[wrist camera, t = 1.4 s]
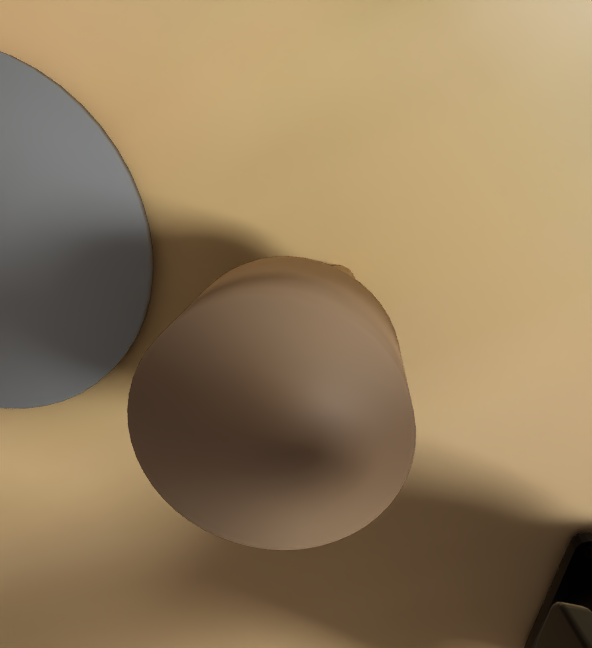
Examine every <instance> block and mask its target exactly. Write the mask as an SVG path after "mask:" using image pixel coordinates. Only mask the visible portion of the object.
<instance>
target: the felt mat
mask: <svg viewBox="0 0 592 648" xmlns="http://www.w3.org/2000/svg"><path fill="white" fill-rule="evenodd" d="M152 280H153V248H152V242H151V235H150V229H149V223H148V220H147V216H146V213H145V209H144V206H143V202H142V199H141V196H140V194H139V191H138V189H137V187H136V184H135V182H134V179H133V177H132V174H131V173H130V171H129V169H128V167H127V165H126V164H125V162H124V160H123V158H122V156H121V154H120V153H119V151H118V149H117V148H116V146H115V145H114V144H113V142H112V141H111V139H110V138H109V136H108V135H107V134H106V132H105V131H104V129H103V128H102V127H101V125H100V124H99V123H98V122H97V121H96V120H95V119H94V118H93V116H92V115H91V114H90V113H89V112H88V111H87V110H86V109H85V107H84V106H83V105H82V104H81V103H79V102H78V101H77V100H76V99H75V98H74V97H73V96H72V95H71V94H69V93H68V92H67V91H66V90H65V89H64V88H63V87H62V86H60V85H59V84H58V83H56V82H55V81H53V80H52V79H50V78H49V77H48V76H46V75H45V74H43V73H42V72H40V71H39V70H38V69H36V68H34V67H32V66H30V65H28V64H26V63H24V62H23V61H21V60H19V59H17V58H15V57H13V56H11V55H8V54H5V53H3V52H0V408H33V407H41V406H46V405H50V404H54V403H58V402H61V401H64V400H66V399H69V398H71V397H73V396H76V395H78V394H80V393H82V392H83V391H85V390H87V389H88V388H90V387H91V386H93V385H95V384H96V383H97V382H98V381H100V380H101V379H102V378H103V377H104V376H105V375H107V374H108V373H109V372H110V371H111V370H112V369H113V368H114V367H115V366H116V365H117V364H118V363H119V362H120V360H121V359H122V358H123V357H124V356H125V354H126V353H127V352H128V350H129V349H130V347H131V345H132V344H133V342H134V341H135V339H136V337H137V336H138V333H139V331H140V329H141V326H142V324H143V321H144V319H145V316H146V313H147V309H148V305H149V301H150V297H151V289H152Z"/></svg>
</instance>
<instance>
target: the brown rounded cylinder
mask: <svg viewBox="0 0 592 648" xmlns="http://www.w3.org/2000/svg"><path fill="white" fill-rule="evenodd" d="M127 412H128V428H129V433H130V438H131V443H132V446H133V449H134V451H135V454H136V457H137V459H138V461H139V463H140V466H141V468H142V470H143V472H144V473H145V475H146V476H147V478H148V479H149V481H150V482H151V484H152V486H153V487H154V488H155V489H156V490H157V492H158V493H159V494H160V495H161V496H162V498H163V499H164V500H165V501H166V502H167V503H168V504H169V505H171V506H172V507H173V508H174V509H175V510H176V511H177V512H178V513H180V514H181V515H182V516H184V517H185V518H186V519H187V520H189V521H190V522H192V523H194V524H195V525H197V526H199V527H200V528H202V529H203V530H205V531H208V532H210V533H212V534H214V535H216V536H218V537H220V538H223V539H226V540H229V541H231V542H234V543H238V544H242V545H246V546H250V547H255V548H262V549H270V550H296V549H306V548H312V547H317V546H322V545H325V544H328V543H332V542H335V541H338V540H340V539H342V538H345V537H347V536H349V535H352V534H353V533H355V532H357V531H358V530H360V529H362V528H364V527H365V526H367V525H368V524H369V523H370V522H372V521H373V520H374V519H376V518H377V517H378V516H379V515H380V514H381V513H382V512H383V511H384V510H385V509H386V508H387V507H388V506H389V505H390V504H391V502H392V501H393V500H394V498H395V497H396V496H397V494H398V493H399V491H400V490H401V488H402V486H403V484H404V482H405V480H406V478H407V476H408V473H409V470H410V467H411V464H412V461H413V456H414V450H415V440H416V426H415V418H414V411H413V406H412V402H411V397H410V393H409V388H408V384H407V379H406V375H405V370H404V366H403V361H402V357H401V352H400V348H399V343H398V340H397V336H396V333H395V330H394V327H393V325H392V323H391V321H390V318H389V316H388V315H387V313H386V312H385V310H384V308H383V307H382V305H381V304H380V303H379V301H378V300H377V299H376V298H375V297H374V295H373V294H372V293H371V292H370V291H369V290H368V289H367V288H366V287H364V286H363V285H362V284H361V283H360V282H358V281H357V280H356V279H355V277H354V275H353V273H352V272H351V271H350V270H349V269H347V268H346V267H344V266H340V265H334V266H330V265H328V264H325V263H322V262H320V261H315V260H311V259H307V258H300V257H290V256H287V257H270V258H264V259H258V260H255V261H252V262H248V263H245V264H243V265H241V266H238V267H236V268H234V269H232V270H230V271H229V272H227V273H225V274H224V275H222V276H221V277H219V278H218V279H217V280H216V281H215V282H213V283H212V284H211V285H210V286H209V287H208V288H207V289H206V290H205V291H204V292H203V293H202V294H201V295H200V296H199V297H198V298H197V299H196V300H195V301H194V302H193V303H192V304H191V305H190V306H189V307H188V308H187V309H186V310H185V311H184V312H182V313H181V314H180V315H179V316H178V317H177V318H176V319H175V320H174V321H173V322H172V323H171V324H170V325H169V326H168V327H167V328H166V329H165V330H164V331H163V332H162V333H161V334H160V335H159V336H158V338H157V339H156V340H155V341H154V342H153V343H152V345H151V346H150V347H149V348H148V350H147V351H146V353H145V355H144V356H143V358H142V359H141V361H140V363H139V365H138V367H137V370H136V372H135V374H134V377H133V380H132V384H131V388H130V392H129V399H128V409H127Z"/></svg>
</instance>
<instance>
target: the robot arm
mask: <svg viewBox="0 0 592 648" xmlns="http://www.w3.org/2000/svg"><path fill="white" fill-rule="evenodd" d="M586 547H590V548H588V549H584V548H586ZM524 648H592V533H581V534H577V535H576V536H574V537H573V538H572V540H571V541H570V543H569V545H568V548H567V550H566V552H565V555H564V557H563V559H562V562H561V564H560V566H559V569H558V571H557V573H556V576H555V578H554V580H553V583H552V585H551V587H550V589H549V592H548V594H547V596H546V599H545V601H544V603H543V606H542V608H541V610H540V613H539V615H538V617H537V620H536V622H535V624H534V626H533V629H532V631H531V633H530V636H529V638H528V640H527V643H526V645H525V647H524Z"/></svg>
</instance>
